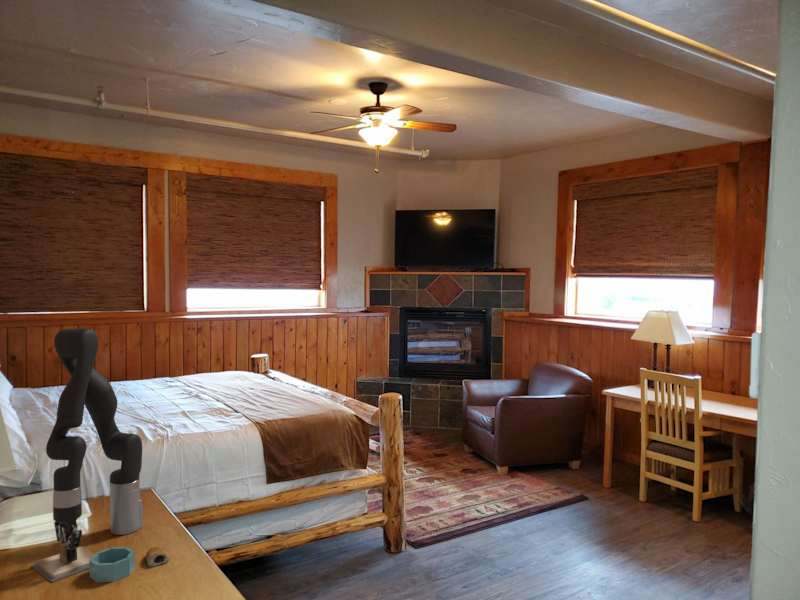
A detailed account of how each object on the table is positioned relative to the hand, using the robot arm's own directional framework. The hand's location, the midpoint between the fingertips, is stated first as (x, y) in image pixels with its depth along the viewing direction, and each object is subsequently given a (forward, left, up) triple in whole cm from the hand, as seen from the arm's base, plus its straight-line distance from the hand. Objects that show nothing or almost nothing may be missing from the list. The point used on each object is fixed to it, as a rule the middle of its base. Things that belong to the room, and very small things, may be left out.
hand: (68, 558), depth 177 cm
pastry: (-18, +18, -2) cm, 26 cm away
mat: (0, 0, -2) cm, 2 cm away
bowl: (-6, +15, -2) cm, 16 cm away
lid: (0, 0, -2) cm, 2 cm away
